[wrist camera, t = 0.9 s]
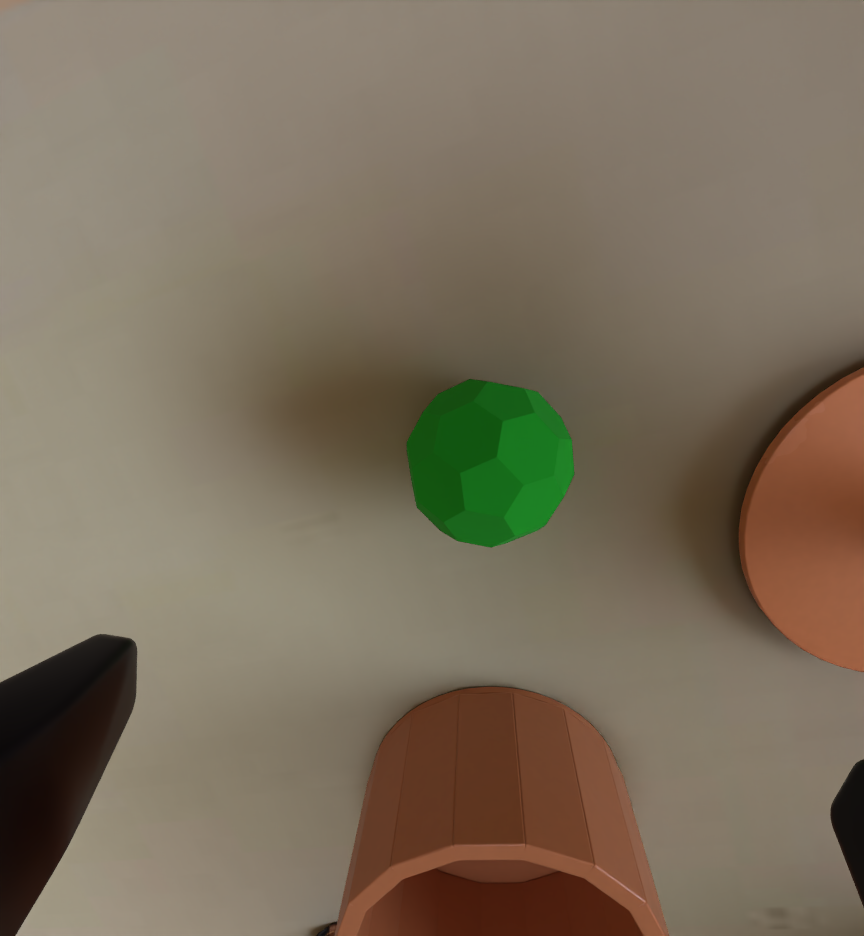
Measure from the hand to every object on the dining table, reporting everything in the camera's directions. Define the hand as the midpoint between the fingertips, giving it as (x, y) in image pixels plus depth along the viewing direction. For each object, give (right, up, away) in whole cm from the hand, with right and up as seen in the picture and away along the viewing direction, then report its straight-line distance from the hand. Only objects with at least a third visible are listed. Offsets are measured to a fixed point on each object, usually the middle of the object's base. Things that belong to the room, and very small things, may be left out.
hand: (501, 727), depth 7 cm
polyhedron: (+1, +4, +13) cm, 14 cm away
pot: (+2, -10, +18) cm, 20 cm away
